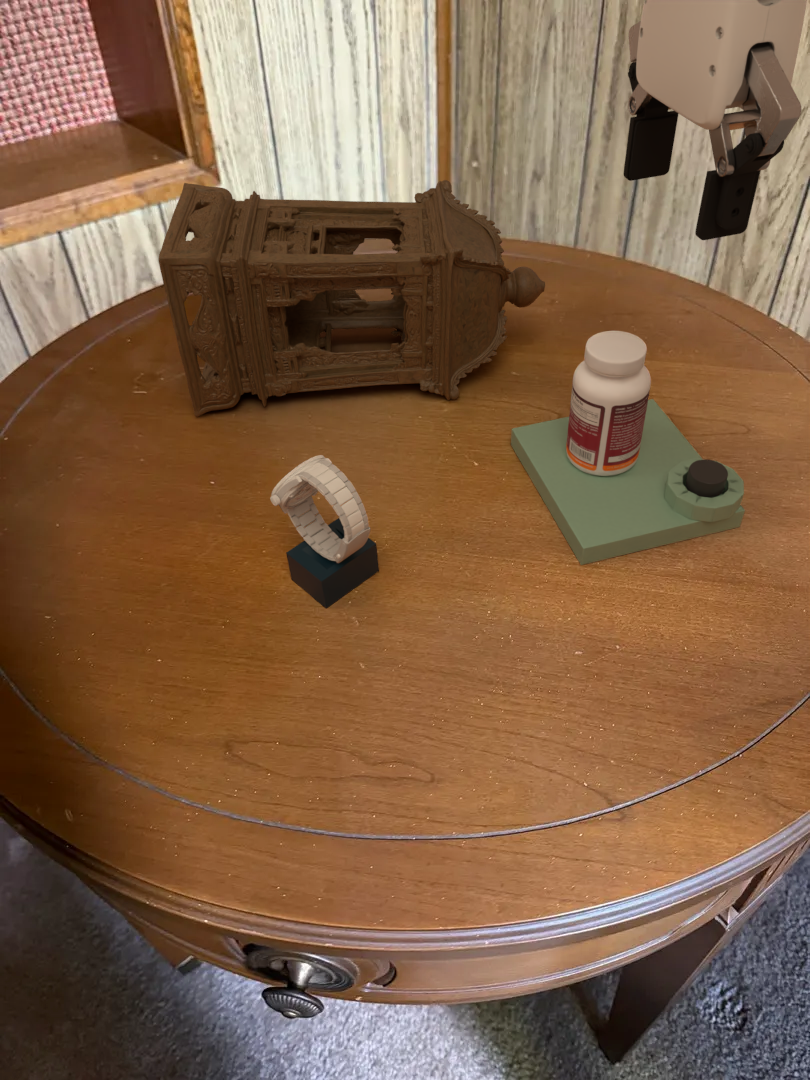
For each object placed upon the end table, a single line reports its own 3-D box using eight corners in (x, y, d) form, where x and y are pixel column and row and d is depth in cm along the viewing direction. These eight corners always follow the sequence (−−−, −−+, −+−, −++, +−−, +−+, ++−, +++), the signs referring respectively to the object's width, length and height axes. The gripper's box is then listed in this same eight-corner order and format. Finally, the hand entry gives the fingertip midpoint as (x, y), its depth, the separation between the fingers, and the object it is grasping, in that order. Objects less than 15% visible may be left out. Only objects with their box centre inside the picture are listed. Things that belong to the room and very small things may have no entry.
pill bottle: (637, 436, 75) (657, 327, 68) (637, 482, 71) (659, 371, 63) (566, 431, 76) (578, 322, 69) (562, 475, 72) (574, 365, 64)
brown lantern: (527, 338, 96) (539, 164, 84) (552, 415, 82) (571, 218, 70) (216, 348, 95) (187, 175, 84) (188, 427, 81) (148, 232, 70)
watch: (329, 532, 71) (312, 428, 64) (393, 582, 67) (384, 476, 59) (275, 567, 69) (252, 463, 61) (340, 621, 64) (323, 516, 57)
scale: (748, 529, 69) (758, 497, 67) (583, 569, 67) (587, 538, 65) (654, 414, 81) (660, 383, 78) (510, 444, 78) (512, 414, 76)
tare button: (731, 493, 68) (735, 479, 67) (697, 501, 67) (700, 487, 66) (711, 470, 70) (715, 455, 69) (678, 478, 69) (682, 463, 68)
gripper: (919, -114, 38) (811, 251, 50) (717, -152, 50) (669, 149, 62) (769, -96, 37) (695, 273, 49) (598, -139, 49) (573, 165, 61)
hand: (680, 203), depth 55 cm, fingers open, 9 cm apart
